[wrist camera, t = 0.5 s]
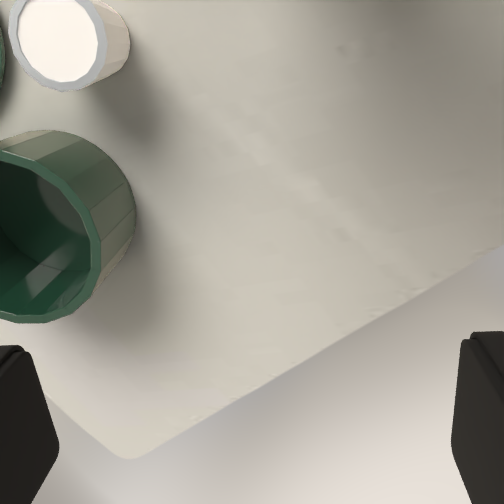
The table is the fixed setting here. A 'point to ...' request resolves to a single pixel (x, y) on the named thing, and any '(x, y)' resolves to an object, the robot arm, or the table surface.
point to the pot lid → (2, 57)
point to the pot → (58, 223)
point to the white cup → (68, 41)
